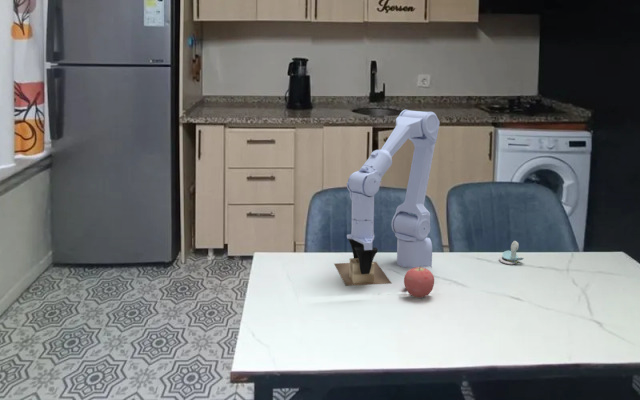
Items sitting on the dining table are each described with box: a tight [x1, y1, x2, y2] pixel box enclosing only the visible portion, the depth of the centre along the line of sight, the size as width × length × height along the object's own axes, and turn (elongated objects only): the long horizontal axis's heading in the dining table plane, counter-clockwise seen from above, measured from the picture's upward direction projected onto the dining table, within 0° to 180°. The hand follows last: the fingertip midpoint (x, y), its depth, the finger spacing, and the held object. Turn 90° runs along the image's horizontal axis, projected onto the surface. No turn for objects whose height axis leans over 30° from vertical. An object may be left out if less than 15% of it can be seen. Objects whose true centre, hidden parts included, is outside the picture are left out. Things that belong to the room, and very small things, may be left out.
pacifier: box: [498, 240, 524, 265], centre depth 195 cm, size 7×6×6 cm
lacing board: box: [333, 261, 392, 287], centre depth 181 cm, size 12×18×6 cm, turn 8°
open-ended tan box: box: [349, 257, 374, 283], centre depth 176 cm, size 5×5×5 cm
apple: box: [403, 266, 435, 299], centre depth 168 cm, size 7×7×8 cm
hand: (362, 268), depth 176 cm, fingers open, 7 cm apart
